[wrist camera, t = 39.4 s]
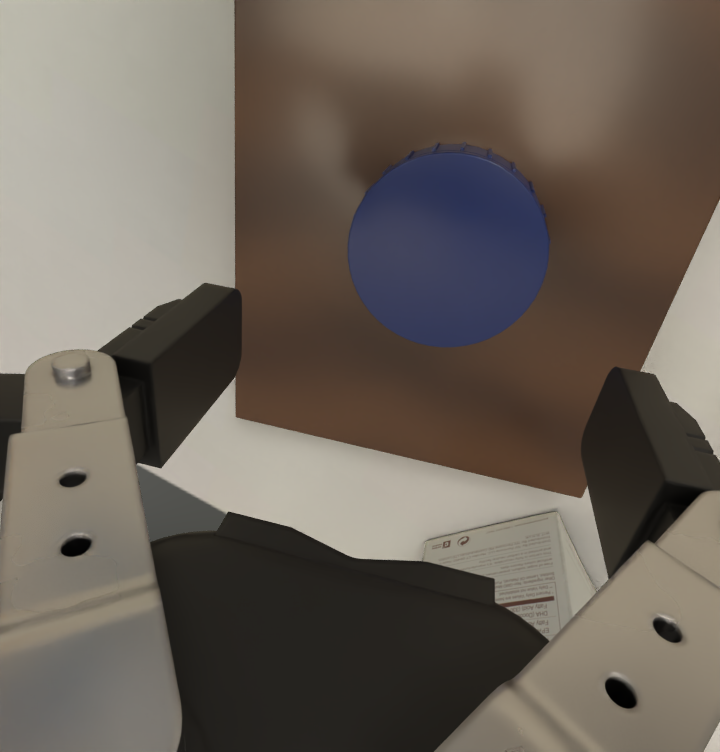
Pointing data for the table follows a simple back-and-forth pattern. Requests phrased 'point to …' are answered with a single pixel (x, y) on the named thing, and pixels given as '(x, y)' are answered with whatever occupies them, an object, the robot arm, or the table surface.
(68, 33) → the table surface
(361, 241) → the jar lid
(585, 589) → the white packaging box
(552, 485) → the board
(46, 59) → the table surface
